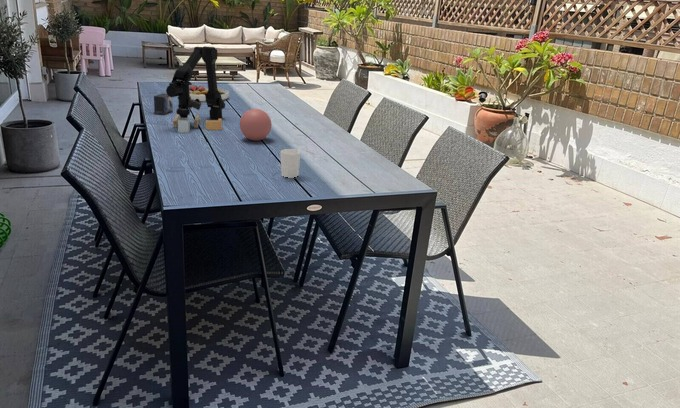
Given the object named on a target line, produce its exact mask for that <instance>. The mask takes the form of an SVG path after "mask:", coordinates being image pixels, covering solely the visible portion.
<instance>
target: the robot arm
mask: <svg viewBox="0 0 680 408" xmlns="http://www.w3.org/2000/svg"><path fill="white" fill-rule="evenodd" d="M200 60H202V61H203V62H204V64H205V71H206V72H205V73H206V80H207V88H208V92H207V94H205V98H206V100H205V101H206V102H205V103H206V107H207V108H209V118H210V120H218V119H222V120H223V109H225V108H226V103H225V101H224V100H222V98H221V94H220V92H219V91H218V89H219V88H218V81H217V71H216V62H217V60H218V49H217V48H216V47H214V46H195V47H194V48H193V51H191V54H190V55H189V57H188V58H187V60H186V61H185V62H184V64H182V65H180V66H178V68H177V69H175V72H174V74H173V77H172V80H171V82H169V83H168V86H167V87H166V90H165V91H166V92H165V94H167V95H168V96H169V97H172V98H175V97H177V101H178V102H177V103H178V104H177V109H176V115H179V117H185V118H189V117H188V116H189V115H190V114H191V111H192V110H190V109H193V108H194V109H196V110H198V111H200V109H201V106H202V102H200V101H199V99H195V100H192V99H191V97H190V90H189V89H190V86H191V85H193V83H192V82H191V79H192V78H193V75H194V74H193V73H194V72H193V71H194V69H195V67H196V66H197V65H198V63H199V62H200ZM217 88H218V89H217Z"/></svg>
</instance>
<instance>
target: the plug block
mask: <svg viewBox="0 0 680 408" xmlns="http://www.w3.org/2000/svg"><path fill="white" fill-rule="evenodd" d="M190 122H191V121H190V117H187V118H185V117H180V116H179V119H178V126H177V132H178V133H179V134H180V133H181V134H182V133H184V134H185V133H186V134H188V133H190V130H191V125H190Z"/></svg>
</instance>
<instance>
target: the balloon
mask: <svg viewBox="0 0 680 408" xmlns="http://www.w3.org/2000/svg"><path fill="white" fill-rule="evenodd" d="M239 129H240V131H241V133H242V135H243V136H244V137H245V138H246V139H248V140H249V141H250V140H251V141H255V142H256V141H261V140H265V138H267V137H268V136H269V134H270V133H271V130H272V120H271V117H270V115H268V113H267V112H265V110H262V109H259V108H251V109H248V110H247V111H245V112H243V114H242V115H241V117H240V120H239Z"/></svg>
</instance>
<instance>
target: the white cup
mask: <svg viewBox="0 0 680 408" xmlns="http://www.w3.org/2000/svg"><path fill="white" fill-rule="evenodd" d="M301 154H302V153H301V150H298V149H294V148H285V149H281V150H280V169H281V176H282V177H283V176H284V177H283V178H285V177H288V178H287V179H295V178H294V177H296V178H298V177H299V170H300V167H301V166H300V164H301ZM297 176H298V177H297Z"/></svg>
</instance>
